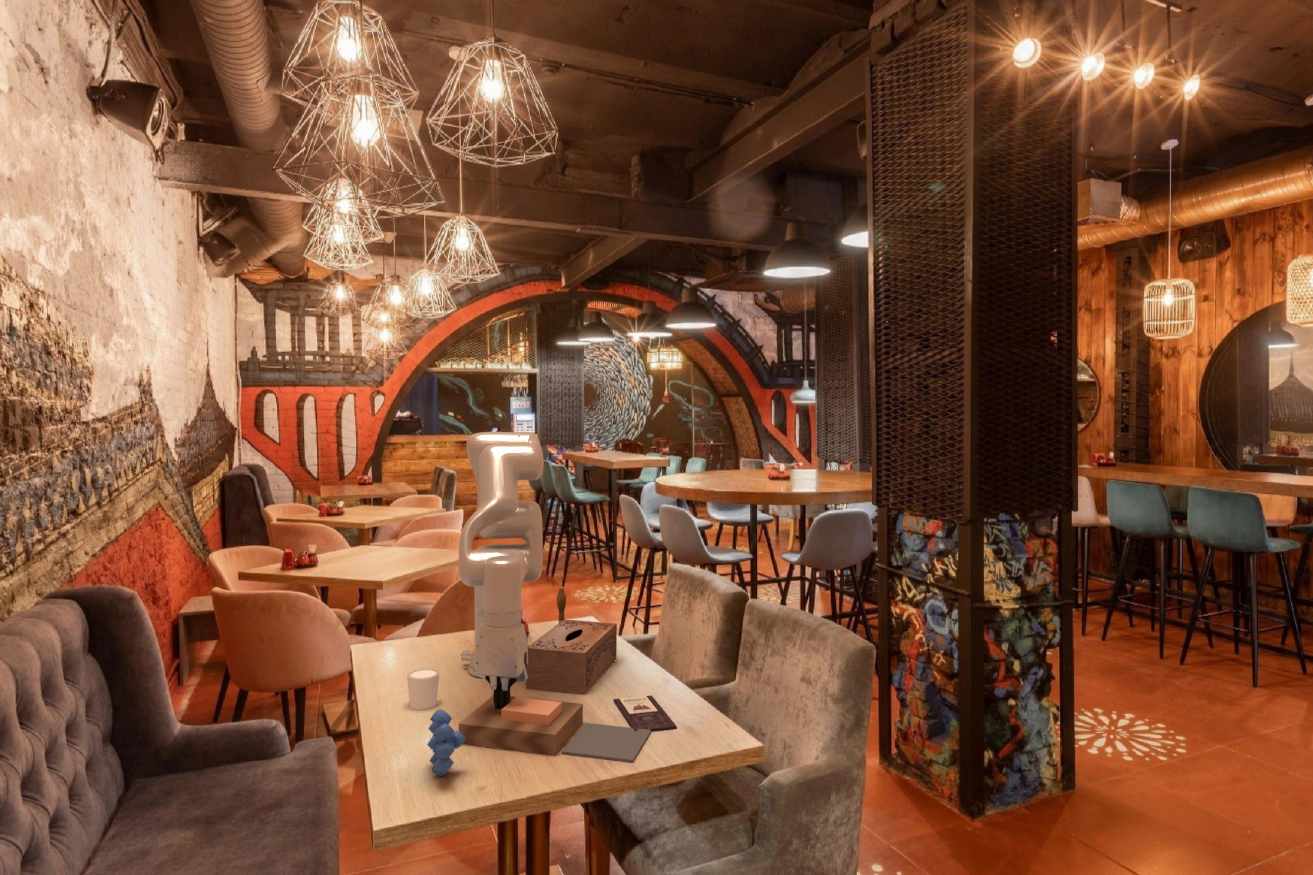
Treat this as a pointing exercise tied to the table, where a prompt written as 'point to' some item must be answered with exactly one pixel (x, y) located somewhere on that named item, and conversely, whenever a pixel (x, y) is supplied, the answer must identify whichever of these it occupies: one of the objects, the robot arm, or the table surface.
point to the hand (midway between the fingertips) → (501, 707)
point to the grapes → (443, 742)
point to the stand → (520, 729)
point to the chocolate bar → (644, 713)
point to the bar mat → (607, 742)
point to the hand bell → (561, 604)
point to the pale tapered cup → (423, 688)
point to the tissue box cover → (571, 656)
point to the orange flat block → (531, 711)
